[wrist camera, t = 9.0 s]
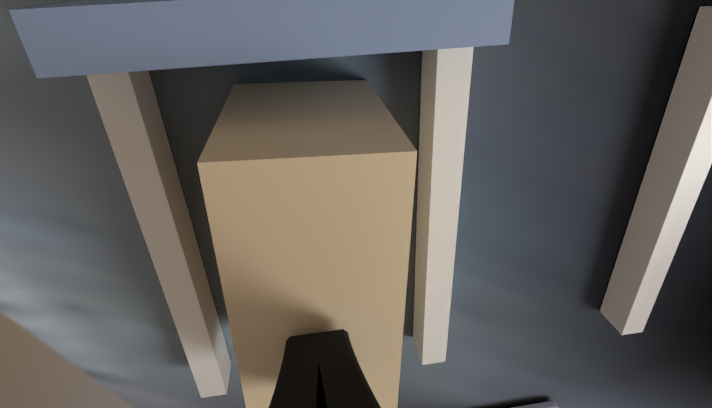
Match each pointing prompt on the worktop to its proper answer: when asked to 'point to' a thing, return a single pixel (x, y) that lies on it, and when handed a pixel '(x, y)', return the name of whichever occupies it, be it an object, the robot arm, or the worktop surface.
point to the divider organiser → (436, 138)
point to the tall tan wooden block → (310, 225)
